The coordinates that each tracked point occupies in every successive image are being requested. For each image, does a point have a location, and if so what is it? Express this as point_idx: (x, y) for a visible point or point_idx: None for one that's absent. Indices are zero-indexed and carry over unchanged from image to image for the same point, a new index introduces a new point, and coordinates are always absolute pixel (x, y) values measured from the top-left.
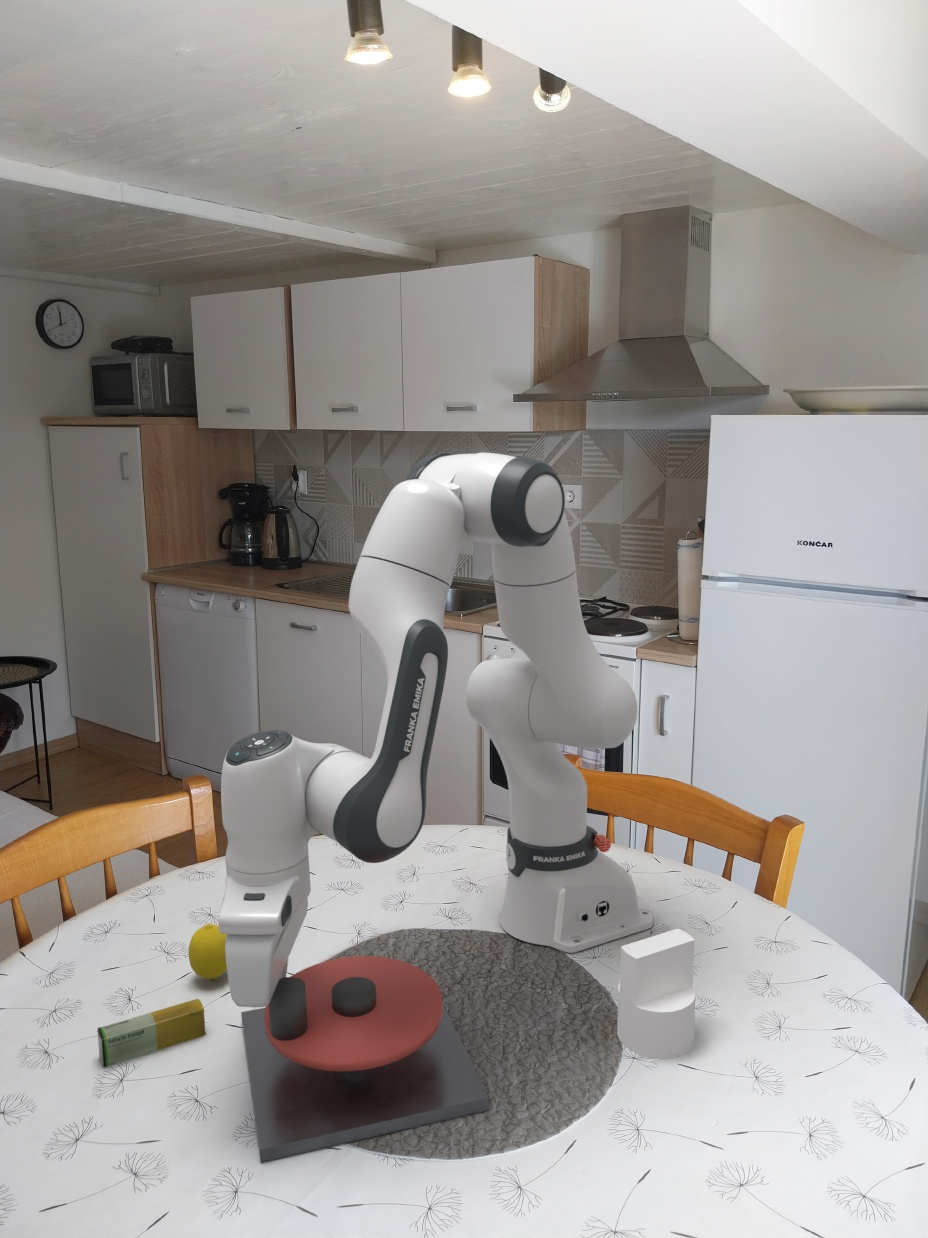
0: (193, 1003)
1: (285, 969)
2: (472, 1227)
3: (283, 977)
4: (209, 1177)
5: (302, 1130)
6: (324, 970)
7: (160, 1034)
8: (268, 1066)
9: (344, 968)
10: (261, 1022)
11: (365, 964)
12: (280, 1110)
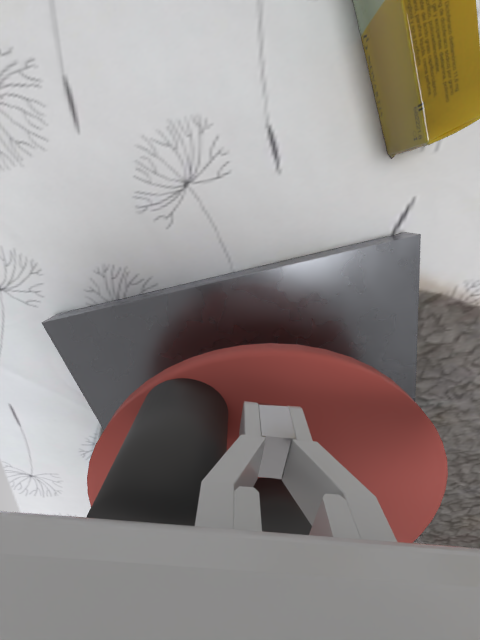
0: (465, 102)
1: (299, 505)
2: (17, 501)
3: (282, 478)
4: (14, 244)
5: (90, 374)
6: (408, 458)
7: (381, 22)
8: (236, 310)
9: (400, 490)
10: (371, 281)
11: (401, 518)
12: (128, 341)
